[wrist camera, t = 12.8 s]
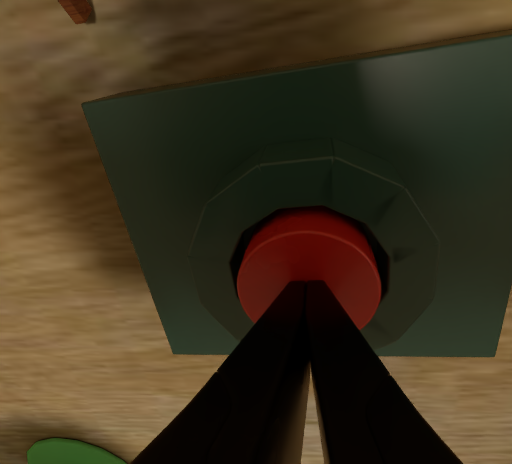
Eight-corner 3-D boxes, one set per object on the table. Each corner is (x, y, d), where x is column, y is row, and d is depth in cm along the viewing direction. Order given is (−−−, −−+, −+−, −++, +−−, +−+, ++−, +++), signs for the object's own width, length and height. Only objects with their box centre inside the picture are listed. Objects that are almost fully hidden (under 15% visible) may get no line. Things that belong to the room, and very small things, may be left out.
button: (371, 195, 9) (383, 226, 7) (371, 303, 11) (381, 347, 9) (237, 206, 10) (223, 236, 8) (257, 305, 11) (248, 346, 10)
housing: (521, 27, 9) (645, 19, 6) (470, 314, 14) (522, 406, 10) (117, 93, 12) (34, 115, 8) (189, 318, 16) (155, 393, 13)
